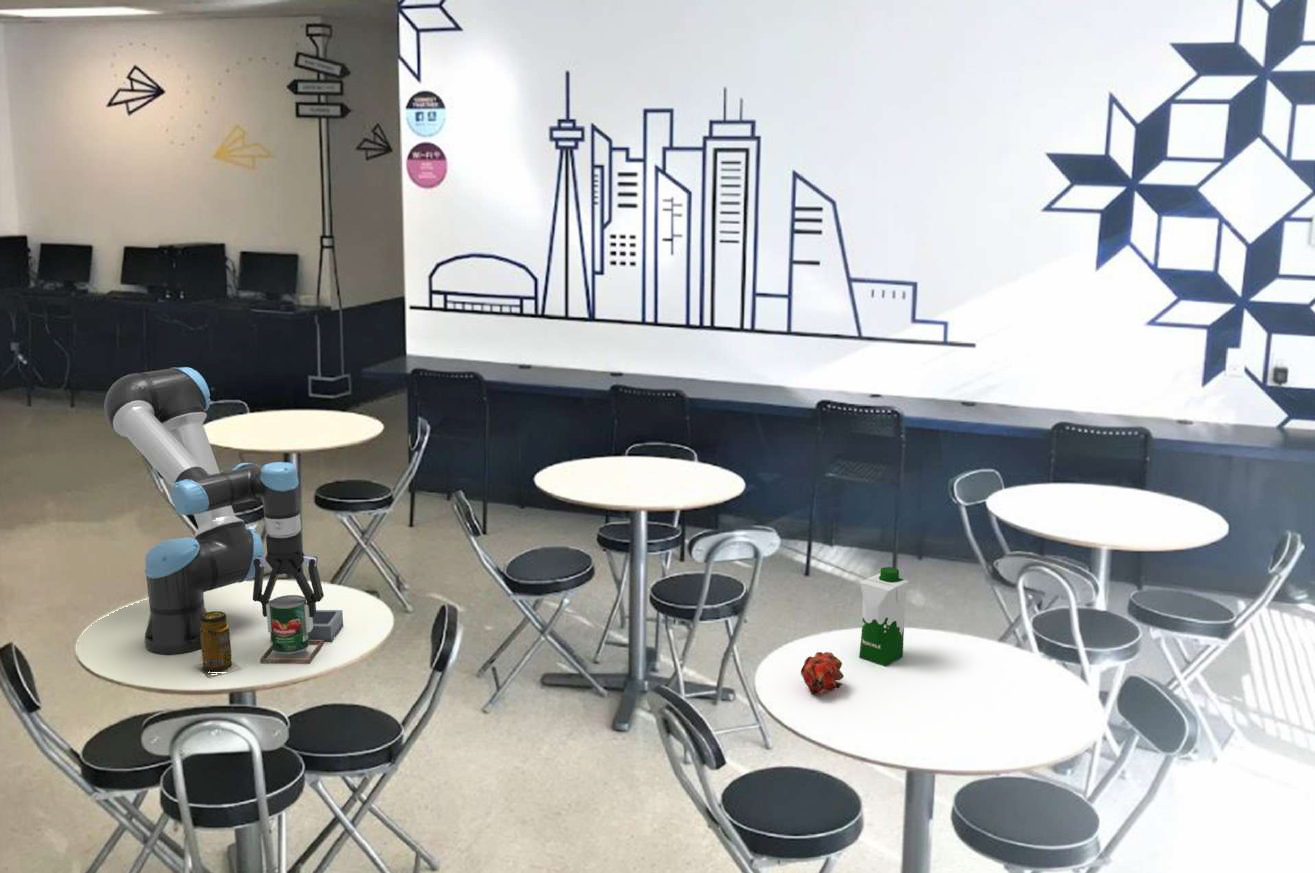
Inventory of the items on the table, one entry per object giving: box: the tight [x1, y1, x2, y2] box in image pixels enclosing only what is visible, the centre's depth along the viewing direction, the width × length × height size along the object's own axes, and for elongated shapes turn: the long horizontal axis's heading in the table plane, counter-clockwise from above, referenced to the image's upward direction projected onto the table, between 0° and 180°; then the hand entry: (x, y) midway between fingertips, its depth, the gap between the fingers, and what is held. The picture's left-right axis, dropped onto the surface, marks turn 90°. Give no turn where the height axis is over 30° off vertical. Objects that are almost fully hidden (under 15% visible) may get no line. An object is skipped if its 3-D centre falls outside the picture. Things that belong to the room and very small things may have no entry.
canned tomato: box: [269, 594, 310, 655], centre depth 274 cm, size 8×8×11 cm
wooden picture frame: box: [259, 640, 325, 665], centre depth 276 cm, size 11×11×1 cm
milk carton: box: [858, 566, 909, 667], centre depth 271 cm, size 9×9×20 cm
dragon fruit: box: [800, 651, 845, 696], centre depth 256 cm, size 8×8×12 cm
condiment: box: [195, 610, 243, 678], centre depth 267 cm, size 7×8×12 cm
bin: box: [269, 609, 344, 643], centre depth 286 cm, size 14×10×4 cm
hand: (290, 629), depth 275 cm, fingers closed on canned tomato, 8 cm apart
